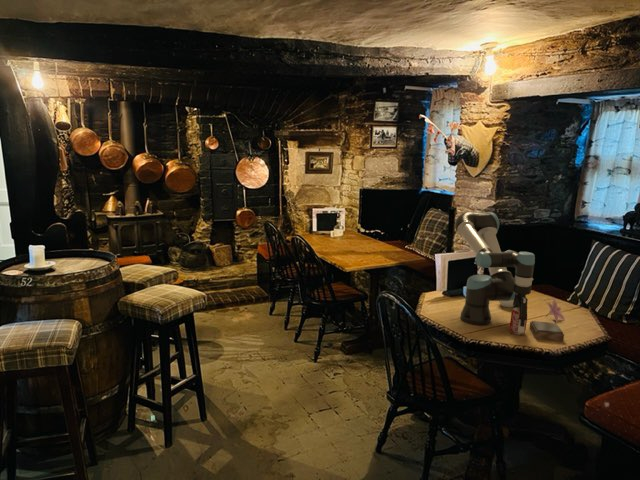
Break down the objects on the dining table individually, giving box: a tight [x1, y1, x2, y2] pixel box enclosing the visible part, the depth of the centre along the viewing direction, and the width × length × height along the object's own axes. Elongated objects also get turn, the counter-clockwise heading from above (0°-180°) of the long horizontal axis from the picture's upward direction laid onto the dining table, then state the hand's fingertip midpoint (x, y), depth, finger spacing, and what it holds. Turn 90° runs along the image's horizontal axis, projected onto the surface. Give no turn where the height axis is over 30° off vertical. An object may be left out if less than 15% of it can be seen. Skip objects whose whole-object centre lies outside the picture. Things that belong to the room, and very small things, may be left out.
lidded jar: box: [498, 300, 514, 308], centre depth 247 cm, size 11×11×9 cm
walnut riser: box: [528, 320, 565, 342], centre depth 209 cm, size 12×12×4 cm
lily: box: [545, 298, 565, 323], centre depth 229 cm, size 12×12×10 cm
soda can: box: [509, 307, 528, 336], centre depth 210 cm, size 7×7×12 cm
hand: (517, 326), depth 211 cm, fingers open, 13 cm apart
